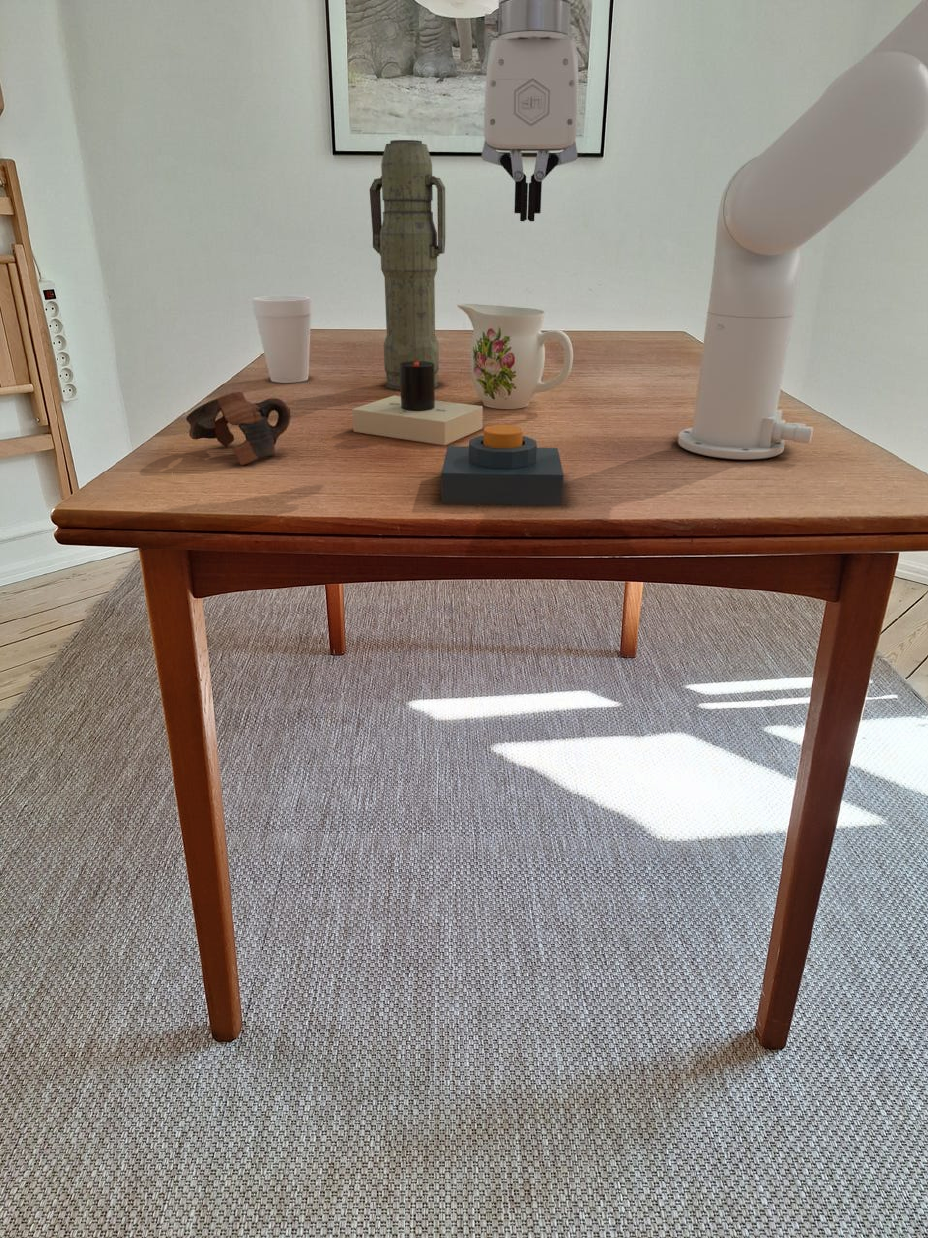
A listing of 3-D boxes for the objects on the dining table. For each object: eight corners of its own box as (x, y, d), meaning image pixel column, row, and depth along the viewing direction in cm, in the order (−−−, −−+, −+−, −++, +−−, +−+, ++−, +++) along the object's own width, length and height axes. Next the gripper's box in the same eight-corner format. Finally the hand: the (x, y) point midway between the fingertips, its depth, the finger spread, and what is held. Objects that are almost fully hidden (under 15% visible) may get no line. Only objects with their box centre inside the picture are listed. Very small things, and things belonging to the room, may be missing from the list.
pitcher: (556, 418, 114) (562, 314, 107) (441, 406, 120) (441, 307, 114) (580, 403, 123) (587, 306, 116) (472, 392, 129) (473, 300, 123)
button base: (556, 476, 90) (558, 431, 87) (561, 505, 81) (564, 456, 78) (447, 474, 90) (447, 429, 88) (441, 503, 81) (441, 454, 79)
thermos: (387, 378, 140) (378, 143, 124) (453, 382, 137) (452, 142, 121) (368, 388, 132) (356, 139, 116) (438, 392, 129) (435, 138, 113)
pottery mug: (220, 476, 91) (183, 408, 89) (209, 490, 99) (175, 429, 98) (313, 434, 95) (279, 368, 94) (295, 451, 104) (263, 391, 102)
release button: (521, 441, 85) (522, 424, 84) (522, 451, 81) (523, 434, 81) (483, 440, 85) (483, 424, 84) (482, 451, 82) (483, 433, 81)
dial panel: (482, 428, 109) (482, 404, 107) (444, 445, 101) (444, 420, 99) (395, 416, 115) (394, 393, 113) (353, 431, 107) (351, 407, 105)
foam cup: (311, 384, 135) (304, 301, 129) (255, 384, 135) (246, 300, 129) (321, 374, 143) (315, 295, 137) (268, 373, 143) (260, 295, 137)
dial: (402, 403, 108) (400, 358, 106) (435, 403, 108) (434, 358, 106) (399, 410, 104) (398, 364, 102) (434, 410, 104) (433, 364, 102)
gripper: (461, 20, 82) (461, 221, 91) (609, 19, 82) (595, 221, 90) (464, 34, 89) (464, 220, 97) (601, 33, 89) (589, 220, 97)
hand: (527, 220), depth 94 cm, fingers closed
